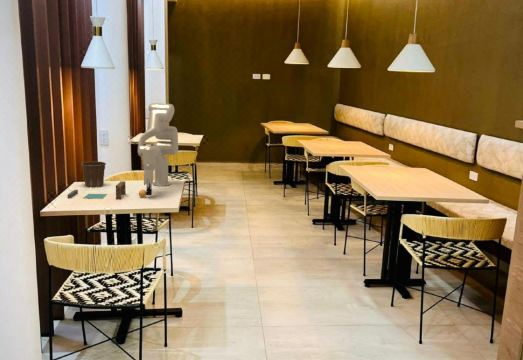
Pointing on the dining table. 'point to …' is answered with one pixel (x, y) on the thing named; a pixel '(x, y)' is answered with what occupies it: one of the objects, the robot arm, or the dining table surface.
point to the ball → (142, 193)
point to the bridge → (120, 189)
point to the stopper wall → (73, 193)
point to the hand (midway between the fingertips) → (149, 195)
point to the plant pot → (93, 173)
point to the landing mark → (95, 196)
